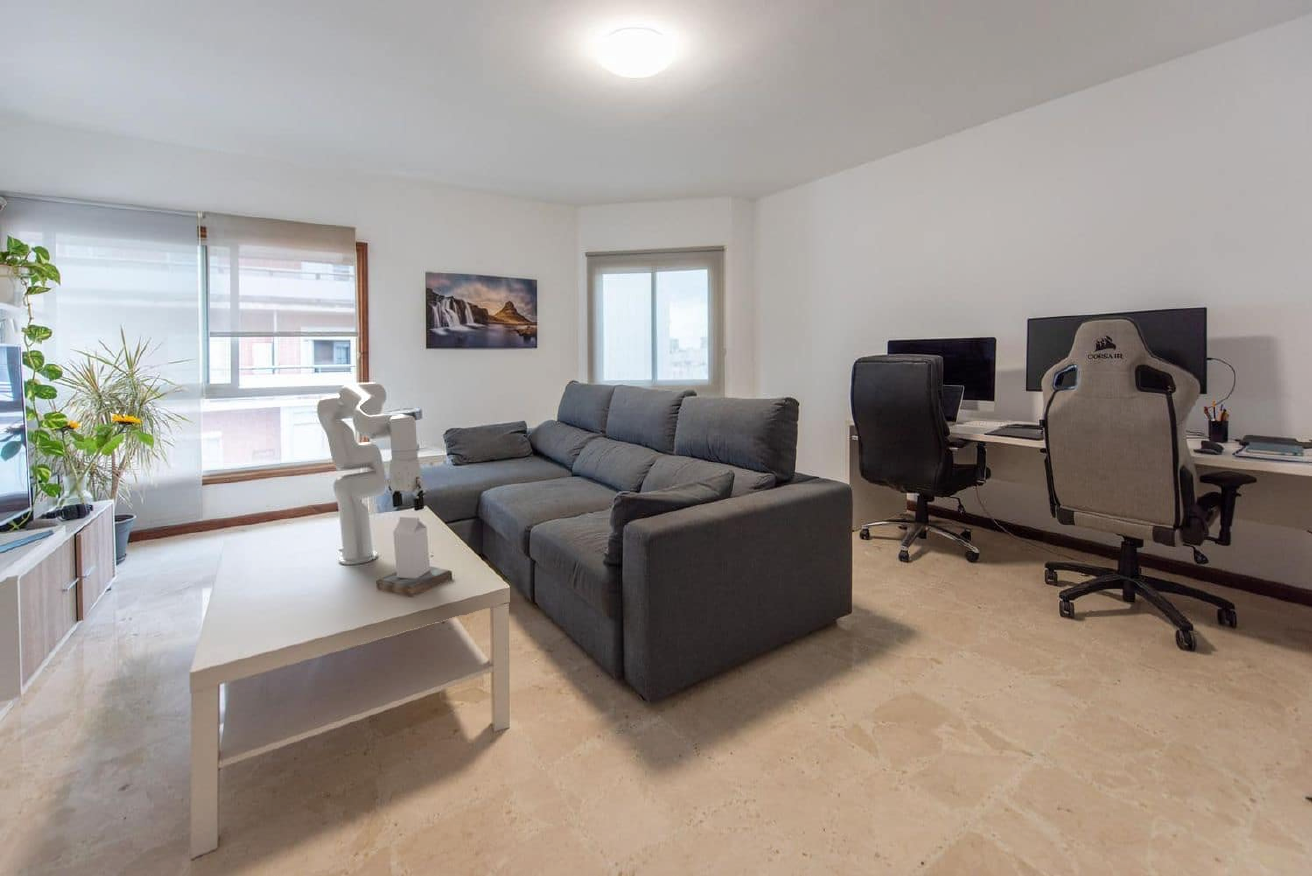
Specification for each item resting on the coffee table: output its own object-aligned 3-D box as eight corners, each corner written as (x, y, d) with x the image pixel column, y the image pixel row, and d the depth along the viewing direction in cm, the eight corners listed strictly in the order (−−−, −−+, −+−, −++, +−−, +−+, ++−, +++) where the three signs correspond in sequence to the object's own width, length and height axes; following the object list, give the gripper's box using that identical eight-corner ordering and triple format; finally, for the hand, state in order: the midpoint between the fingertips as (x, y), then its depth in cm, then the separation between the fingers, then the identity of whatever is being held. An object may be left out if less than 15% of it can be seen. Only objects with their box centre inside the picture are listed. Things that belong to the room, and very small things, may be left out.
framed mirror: (376, 588, 180) (375, 579, 180) (418, 571, 194) (417, 563, 194) (411, 597, 173) (411, 587, 173) (452, 578, 187) (451, 570, 187)
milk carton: (416, 579, 179) (411, 520, 177) (396, 577, 181) (391, 519, 178) (430, 571, 186) (425, 514, 184) (411, 569, 188) (406, 514, 185)
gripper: (375, 454, 179) (379, 507, 181) (414, 459, 171) (417, 514, 174) (396, 451, 185) (399, 502, 188) (434, 455, 178) (437, 508, 180)
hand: (408, 508), depth 181 cm, fingers open, 9 cm apart
